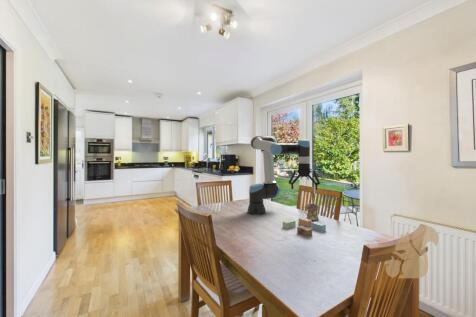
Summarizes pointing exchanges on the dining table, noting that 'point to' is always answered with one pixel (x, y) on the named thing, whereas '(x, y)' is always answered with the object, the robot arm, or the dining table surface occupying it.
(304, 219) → the terracotta brick
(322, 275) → the dining table surface
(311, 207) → the mug
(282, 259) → the dining table surface
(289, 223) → the sage brick
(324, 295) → the dining table surface
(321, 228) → the blue brick
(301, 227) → the walnut brick
